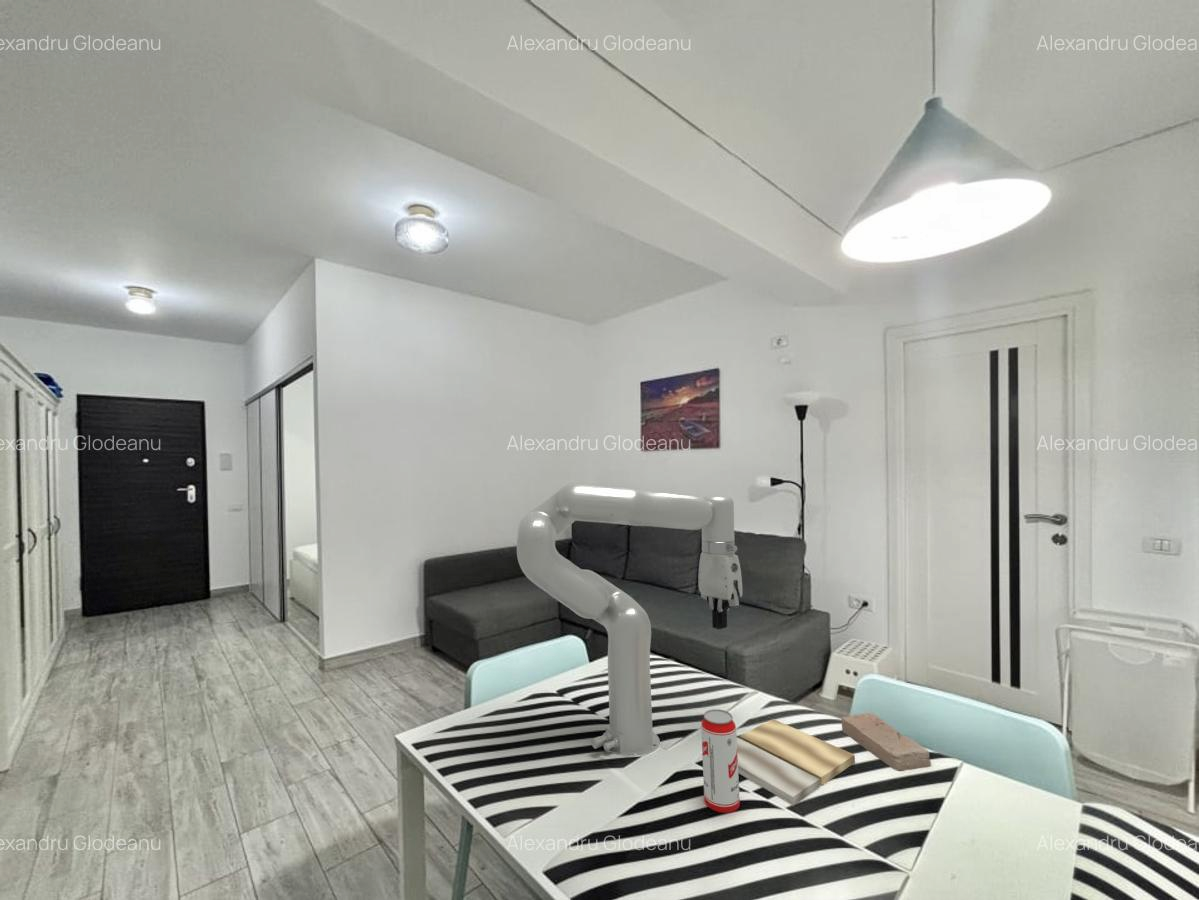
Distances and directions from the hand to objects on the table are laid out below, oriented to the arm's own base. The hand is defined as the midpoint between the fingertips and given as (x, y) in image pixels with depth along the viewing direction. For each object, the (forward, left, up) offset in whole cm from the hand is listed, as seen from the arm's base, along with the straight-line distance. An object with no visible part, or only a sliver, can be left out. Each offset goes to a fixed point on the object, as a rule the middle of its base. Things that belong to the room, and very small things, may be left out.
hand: (719, 627), depth 115 cm
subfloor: (0, -16, -24) cm, 29 cm away
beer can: (-20, -17, -24) cm, 36 cm away
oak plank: (+4, -15, -23) cm, 28 cm away
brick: (+21, -26, -25) cm, 41 cm away
